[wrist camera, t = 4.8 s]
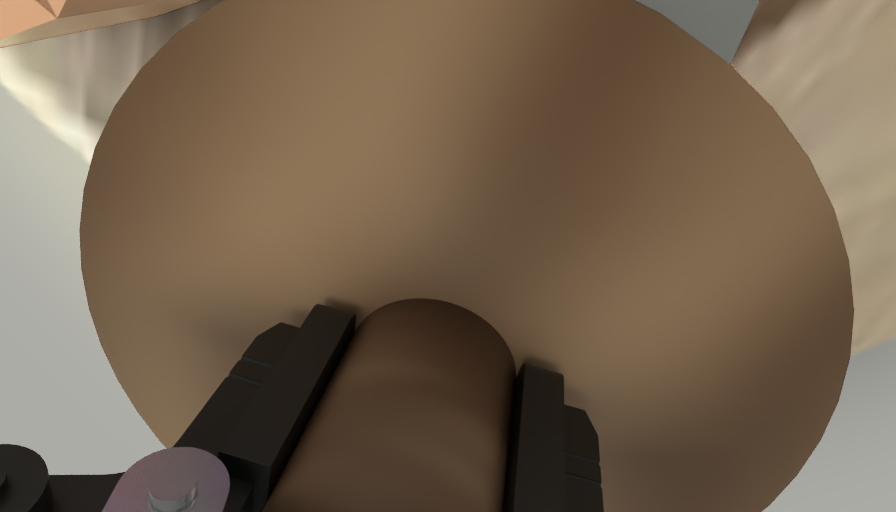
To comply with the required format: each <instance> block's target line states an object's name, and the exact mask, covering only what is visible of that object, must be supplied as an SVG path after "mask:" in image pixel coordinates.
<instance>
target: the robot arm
mask: <svg viewBox="0 0 896 512" xmlns="http://www.w3.org/2000/svg"><path fill="white" fill-rule="evenodd" d="M355 324H356V315H355V314H353V313H349V312H346V311H342V310H339V309H335V308H332V307H328V306H325V305H321V304H316V305H315V306H314V307H313V309H312V310H311V312H310V313H309V315H308V316H307V318H306V319H305V321H304V322H303V324H302V325H301V327H300V328H299V327H296V326H292V325H289V324H286V323H282V322H280V323H278V324H276V325H275V326H273V327H271V328H270V329H268V330H266V331H265V332H263V333H261V334H259V335H258V336H256V338H255V339H254V340H253V342H252V343H251V344H250V346H249V347H248V348H247V350H246V351H245V352H244V354H243V355H242V357H241V360H238V362H237V363H236V364H235V366H234V367H233V368H232V370H231V371H230V372H229V375H228V377H226V378H225V379H224V380H223V382H222V383H221V384H220V386H219V387H218V388H217V389H216V391H215V392H214V393H213V395H212V396H211V397H210V399H209V400H208V401H207V403H206V404H205V405H204V407H203V408H202V409H201V411H200V412H199V413H198V415H197V416H196V417H195V419H194V420H193V421H192V423H191V424H190V425H189V427H188V428H187V429H186V431H185V432H184V433H183V435H182V436H181V437H180V439H179V440H178V441H177V442H176V443H175V445H174V446H173V447H172V448H168V449H163V450H160V451H157V452H154V453H152V454H150V455H148V456H146V457H144V458H142V459H141V460H139V461H137V462H136V463H135V464H134V465H132V466H131V467H130V468H129V469H128V470H127V471H126V472H123V473H117V474H108V475H49V474H48V469H47V466H46V464H45V462H44V460H43V459H42V458H41V456H40V455H39V454H37V453H36V452H35V451H33V450H30V449H28V448H26V447H22V446H18V445H11V444H0V512H262V510H263V508H264V506H265V504H266V503H267V501H268V499H269V497H270V495H271V493H272V491H273V489H274V487H275V485H276V483H277V481H278V480H279V478H280V476H281V474H282V472H283V470H284V468H285V466H286V464H287V462H288V460H289V458H290V456H291V454H292V452H293V450H294V449H295V447H296V445H297V443H298V441H299V439H300V437H301V435H302V433H303V431H304V429H305V427H306V425H307V423H308V421H309V419H310V418H311V416H312V414H313V412H314V410H315V408H316V406H317V404H318V402H319V400H320V398H321V396H322V394H323V392H324V390H325V388H326V387H327V385H328V383H329V381H330V379H331V377H332V375H333V373H334V371H335V369H336V367H337V365H338V363H339V361H340V359H341V357H342V356H343V354H344V352H345V350H346V348H347V346H348V344H349V342H350V340H351V338H352V336H353V334H354V330H355ZM599 463H600V453H599V440H598V434H597V432H596V430H595V428H594V426H593V425H592V423H591V421H590V419H589V417H588V415H587V413H586V411H585V410H582V409H579V408H575V407H572V406H568V405H565V404H564V376H563V374H561V373H557V372H554V371H550V370H547V369H543V368H540V367H536V366H533V365H529V364H526V363H523V364H522V366H521V368H520V370H519V373H518V375H517V378H516V383H515V393H514V403H513V413H512V423H511V433H510V443H509V453H508V463H507V473H506V483H505V493H504V503H503V512H604V506H603V493H602V488H601V483H602V480H601V466H599Z"/></svg>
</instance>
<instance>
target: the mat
mask: <svg viewBox="0 0 896 512" xmlns="http://www.w3.org/2000/svg"><path fill="white" fill-rule="evenodd" d="M636 1H637V2H639V3H641V4H643V5H645V6H647V7H649V8H651V9H653V10H655V11H657V12H659V13H661V14H662V15H664V16H665V17H667V18H668V19H669V20H671V21H672V22H673V23H675V24H676V25H678V26H679V27H680V28H682V29H683V30H684V31H686V32H687V33H689V34H690V35H691V36H693V37H694V38H696V39H697V40H698V41H700V42H701V43H702V44H704V45H705V46H707V47H708V48H709V49H711V50H712V51H713V52H715V53H716V54H717V55H719V56H720V57H721V58H723V59H724V60H725V61H726V62H727V63H728V64H729V65H730V63H731V61H732V59H733V57H734V55H735V53H736V51H737V48H738V46H739V44H740V42H741V40H742V38H743V36H744V33H745V31H746V29H747V27H748V25H749V23H750V21H751V18H752V16H753V14H754V12H755V10H756V8H757V6H758V3H759V1H760V0H636Z"/></svg>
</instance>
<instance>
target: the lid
mask: <svg viewBox="0 0 896 512" xmlns="http://www.w3.org/2000/svg"><path fill="white" fill-rule="evenodd" d="M80 248H81V268H82V274H83V280H84V285H85V290H86V295H87V301H88V306H89V310H90V313H91V316H92V319H93V322H94V325H95V328H96V331H97V334H98V337H99V340H100V343H101V346H102V348H103V350H104V352H105V354H106V356H107V358H108V360H109V362H110V364H111V367H112V369H113V371H114V373H115V375H116V377H117V379H118V381H119V383H120V384H121V386H122V388H123V389H124V391H125V392H126V394H127V396H128V397H129V399H130V400H131V402H132V404H133V405H134V407H135V408H136V410H137V412H138V413H139V414H140V416H141V417H142V418H143V420H144V421H145V422H146V423H147V425H148V426H149V427H150V429H151V430H152V431H153V432H154V434H155V435H156V437H157V438H158V439H159V440H160V442H161V443H162V444H163V445H164V446H165V447H166V448H167V449H168V448H172V447H173V446H174V445H175V443H176V442H177V441H178V440H179V439H180V437H181V436H182V435H183V433H184V432H185V431H186V429H187V428H188V427H189V425H190V424H191V423H192V421H193V420H194V419H195V417H196V416H197V415H198V413H199V412H200V411H201V409H202V408H203V407H204V405H205V404H206V403H207V401H208V400H209V399H210V397H211V396H212V395H213V393H214V392H215V391H216V389H217V388H218V387H219V386H220V384H221V383H222V382H223V380H224V379H225V378H226V377H228V375H229V372H230V371H231V370H232V368H233V367H234V366H235V364H236V363H237V362H238V360H241V357H242V355H243V354H244V352H245V351H246V350H247V348H248V347H249V346H250V344H251V343H252V342H253V340H254V339H255V338H256V336H258V335H259V334H261V333H263V332H265V331H266V330H268V329H270V328H271V327H273V326H275V325H276V324H278V323H280V322H282V323H286V324H289V325H292V326H296V327H299V328H300V327H301V325H302V324H303V322H304V321H305V319H306V318H307V316H308V315H309V313H310V312H311V310H312V309H313V307H314V306H315V305H316V304H321V305H325V306H328V307H332V308H335V309H339V310H342V311H346V312H349V313H353V314H355V315H356V324H355V330H354V334H353V336H352V338H351V340H350V342H349V344H348V346H347V348H346V350H345V352H344V354H343V356H342V357H341V359H340V361H339V363H338V365H337V367H336V369H335V371H334V373H333V375H332V377H331V379H330V381H329V383H328V385H327V387H326V388H325V390H324V392H323V394H322V396H321V398H320V400H319V402H318V404H317V406H316V408H315V410H314V412H313V414H312V416H311V418H310V419H309V421H308V423H307V425H306V427H305V429H304V431H303V433H302V435H301V437H300V439H299V441H298V443H297V445H296V447H295V449H294V450H293V452H292V454H291V456H290V458H289V460H288V462H287V464H286V466H285V468H284V470H283V472H282V474H281V476H280V478H279V480H278V481H277V483H276V485H275V487H274V489H273V491H272V493H271V495H270V497H269V499H268V501H267V503H266V504H265V506H264V508H263V510H262V512H503V503H504V493H505V483H506V473H507V463H508V453H509V443H510V433H511V423H512V413H513V403H514V393H515V383H516V378H517V375H518V373H519V370H520V368H521V366H522V364H523V363H526V364H529V365H533V366H536V367H540V368H543V369H547V370H550V371H554V372H557V373H561V374H563V376H564V404H565V405H568V406H572V407H575V408H579V409H582V410H585V411H586V413H587V415H588V417H589V419H590V421H591V423H592V425H593V426H594V428H595V430H596V432H597V434H598V440H599V453H600V463H599V466H601V480H602V483H601V488H602V493H603V506H604V512H762V511H763V510H764V509H765V508H766V507H768V506H769V505H770V504H771V503H772V502H773V501H774V500H775V498H776V497H777V496H778V495H779V494H780V493H781V492H782V491H783V490H784V489H785V488H786V487H787V486H788V484H789V483H790V482H791V481H792V480H793V479H794V478H795V477H796V476H797V474H798V473H799V471H800V470H801V469H802V467H803V466H804V464H805V463H806V461H807V460H808V458H809V457H810V455H811V454H812V452H813V450H814V449H815V448H816V446H817V445H818V443H819V442H820V440H821V438H822V436H823V434H824V432H825V429H826V427H827V425H828V423H829V421H830V418H831V416H832V414H833V412H834V410H835V408H836V406H837V403H838V401H839V397H840V394H841V390H842V386H843V382H844V379H845V375H846V371H847V367H848V364H849V360H850V352H851V340H852V328H853V316H854V306H853V296H852V286H851V276H850V266H849V259H848V256H847V252H846V249H845V245H844V242H843V238H842V235H841V231H840V228H839V224H838V221H837V217H836V214H835V211H834V208H833V206H832V204H831V202H830V200H829V198H828V196H827V194H826V192H825V190H824V188H823V185H822V183H821V181H820V179H819V177H818V175H817V173H816V171H815V169H814V167H813V165H812V163H811V161H810V159H809V157H808V156H807V154H806V153H805V152H804V150H803V149H802V147H801V146H800V145H799V143H798V142H797V140H796V139H795V138H794V136H793V135H792V134H791V132H790V131H789V129H788V128H787V127H786V125H785V124H784V123H783V121H782V120H781V118H780V117H779V116H778V114H777V113H776V111H775V110H774V109H773V107H772V106H771V105H770V104H769V103H768V102H767V101H766V100H765V99H764V98H763V97H762V96H761V95H760V94H759V93H758V92H757V91H756V90H755V89H754V88H753V87H752V86H751V85H750V84H749V83H748V82H747V81H745V80H744V79H743V78H742V77H741V76H740V75H739V74H738V73H737V72H736V71H735V70H734V69H733V68H732V67H731V66H730V65H729V64H728V63H727V62H726V61H725V60H724V59H723V58H721V57H720V56H719V55H717V54H716V53H715V52H713V51H712V50H711V49H709V48H708V47H707V46H705V45H704V44H702V43H701V42H700V41H698V40H697V39H696V38H694V37H693V36H691V35H690V34H689V33H687V32H686V31H684V30H683V29H682V28H680V27H679V26H678V25H676V24H675V23H673V22H672V21H671V20H669V19H668V18H667V17H665V16H664V15H662V14H661V13H659V12H657V11H655V10H653V9H651V8H649V7H647V6H645V5H643V4H641V3H639V2H637V1H636V0H224V1H222V2H220V3H219V4H217V5H216V6H215V7H213V8H212V9H210V10H209V11H207V12H206V13H205V14H203V15H202V16H200V17H199V18H197V19H196V20H195V21H193V22H192V23H190V24H189V25H187V26H186V27H185V28H183V29H182V30H180V31H179V32H177V33H176V34H175V35H174V36H173V37H172V38H171V39H170V40H169V41H168V42H167V43H166V44H165V45H164V46H163V47H162V48H161V49H160V50H159V51H158V52H157V53H156V54H155V55H154V56H153V57H152V58H151V59H150V60H149V61H148V62H147V63H146V64H145V65H144V66H143V67H142V68H141V70H140V71H139V72H138V74H137V75H136V77H135V78H134V80H133V81H132V82H131V84H130V85H129V87H128V88H127V90H126V91H125V92H124V94H123V95H122V97H121V98H120V100H119V101H118V102H117V104H116V105H115V107H114V109H113V111H112V113H111V115H110V117H109V119H108V121H107V124H106V126H105V128H104V130H103V132H102V134H101V136H100V138H99V141H98V143H97V145H96V147H95V150H94V154H93V158H92V161H91V165H90V169H89V172H88V176H87V180H86V183H85V187H84V193H83V203H82V212H81V222H80Z"/></svg>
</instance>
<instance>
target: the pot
mask: <svg viewBox="0 0 896 512" xmlns="http://www.w3.org/2000/svg"><path fill="white" fill-rule="evenodd" d="M198 1H201V0H0V48H2V47H7V46H12V45H17V44H22V43H27V42H32V41H37V40H42V39H46V38H51V37H56V36H61V35H66V34H71V33H76V32H81V31H86V30H91V29H95V28H100V27H105V26H110V25H115V24H120V23H125V22H130V21H135V20H140V19H145V18H149V17H154V16H159V15H162V14H165V13H168V12H170V11H173V10H176V9H179V8H182V7H184V6H187V5H190V4H193V3H196V2H198Z"/></svg>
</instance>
